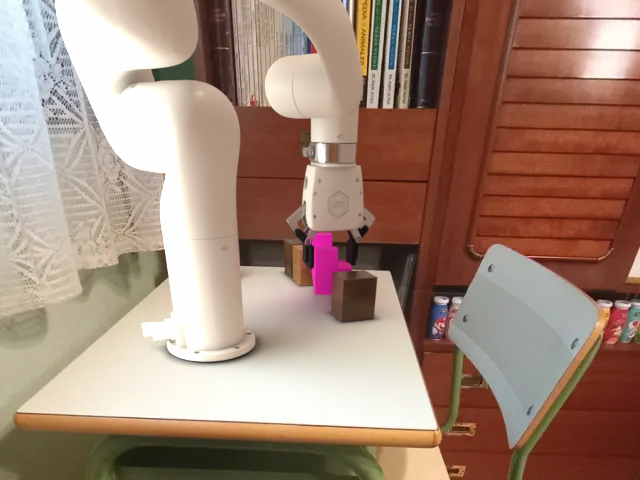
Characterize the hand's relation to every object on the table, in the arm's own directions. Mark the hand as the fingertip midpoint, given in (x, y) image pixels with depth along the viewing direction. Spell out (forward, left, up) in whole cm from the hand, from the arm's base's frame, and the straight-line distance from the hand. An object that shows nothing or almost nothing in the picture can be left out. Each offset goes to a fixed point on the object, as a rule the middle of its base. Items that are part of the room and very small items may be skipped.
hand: (330, 264), depth 88 cm
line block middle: (0, +11, -6) cm, 12 cm away
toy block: (0, 0, -4) cm, 4 cm away
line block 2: (0, -11, -6) cm, 13 cm away
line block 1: (0, +17, -6) cm, 18 cm away
